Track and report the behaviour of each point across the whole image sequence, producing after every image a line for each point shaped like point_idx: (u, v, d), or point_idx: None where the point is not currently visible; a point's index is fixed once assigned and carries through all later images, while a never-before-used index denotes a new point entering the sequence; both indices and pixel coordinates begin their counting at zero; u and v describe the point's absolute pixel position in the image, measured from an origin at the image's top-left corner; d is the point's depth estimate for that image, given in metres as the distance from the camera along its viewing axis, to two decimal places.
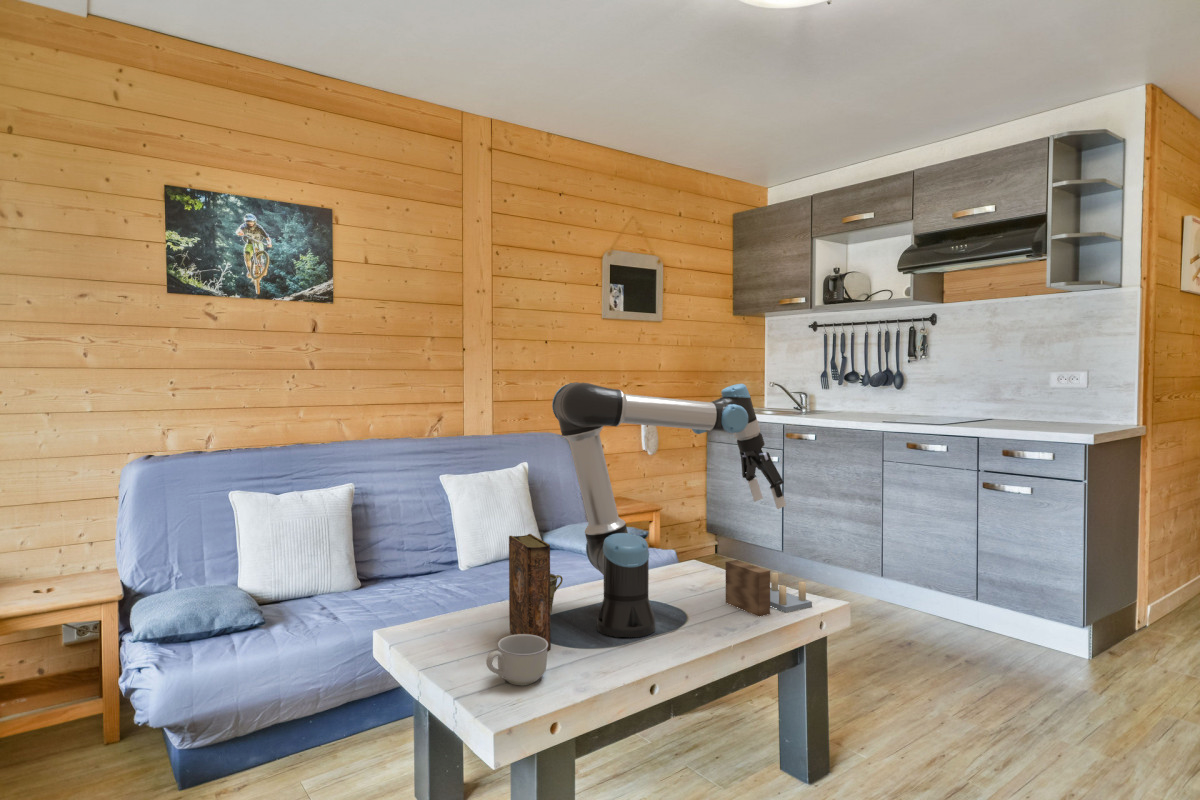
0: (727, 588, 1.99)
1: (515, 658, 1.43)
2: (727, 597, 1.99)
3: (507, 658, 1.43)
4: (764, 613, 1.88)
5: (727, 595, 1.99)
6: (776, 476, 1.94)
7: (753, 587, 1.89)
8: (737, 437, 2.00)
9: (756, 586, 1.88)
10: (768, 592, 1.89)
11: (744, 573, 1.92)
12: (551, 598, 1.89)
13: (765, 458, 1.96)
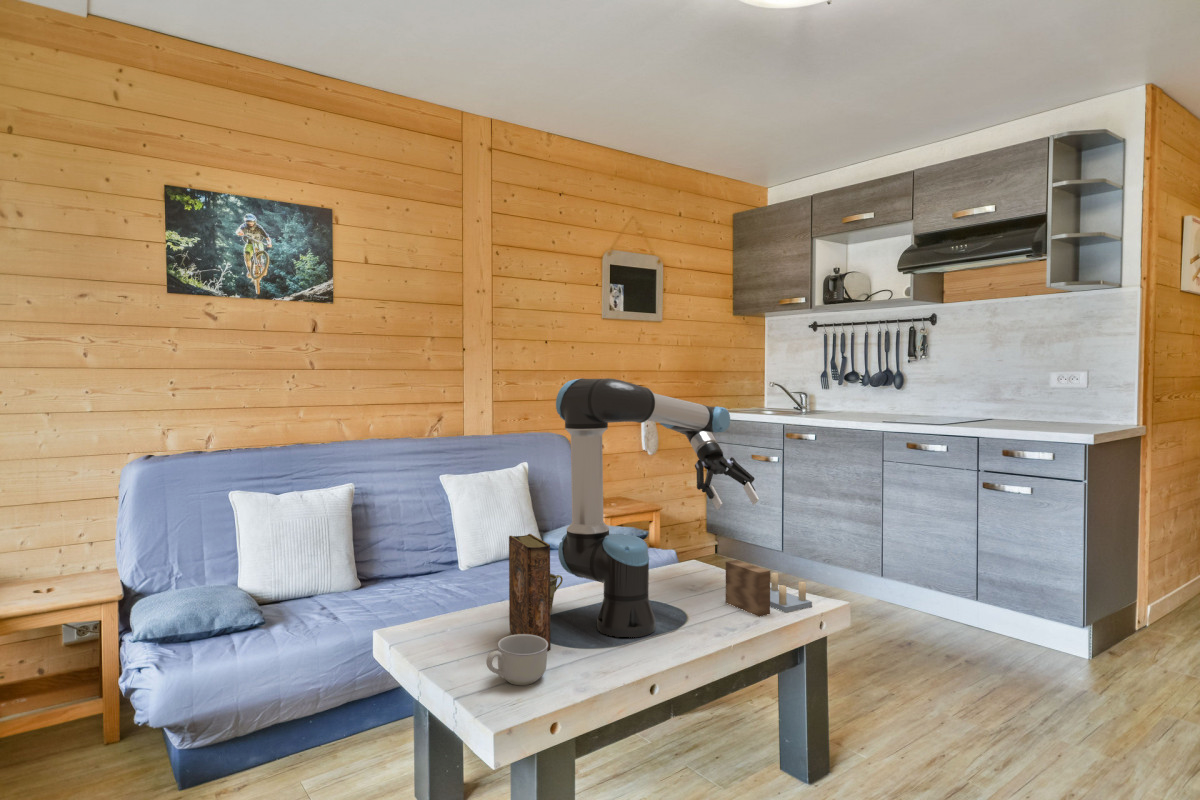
0: (727, 588, 1.99)
1: (515, 658, 1.43)
2: (727, 597, 1.99)
3: (507, 658, 1.43)
4: (764, 613, 1.88)
5: (727, 595, 1.99)
6: None
7: (753, 587, 1.89)
8: (712, 438, 2.14)
9: (756, 586, 1.88)
10: (768, 592, 1.89)
11: (744, 572, 1.92)
12: (551, 598, 1.89)
13: None
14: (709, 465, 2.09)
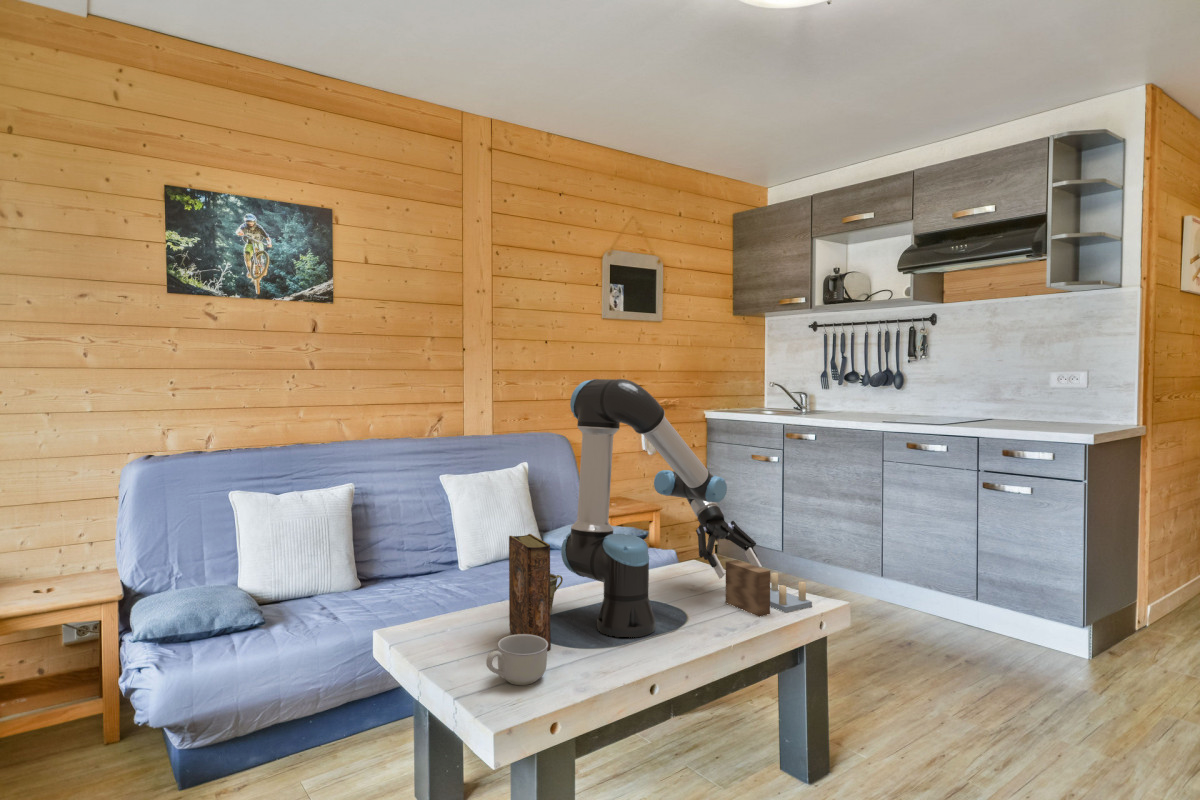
0: (727, 588, 1.99)
1: (515, 658, 1.43)
2: (727, 597, 1.99)
3: (507, 658, 1.43)
4: (764, 613, 1.88)
5: (727, 595, 1.99)
6: None
7: (753, 587, 1.89)
8: (713, 502, 2.10)
9: (756, 586, 1.88)
10: (768, 592, 1.89)
11: (744, 572, 1.92)
12: (551, 598, 1.89)
13: None
14: (711, 530, 2.05)
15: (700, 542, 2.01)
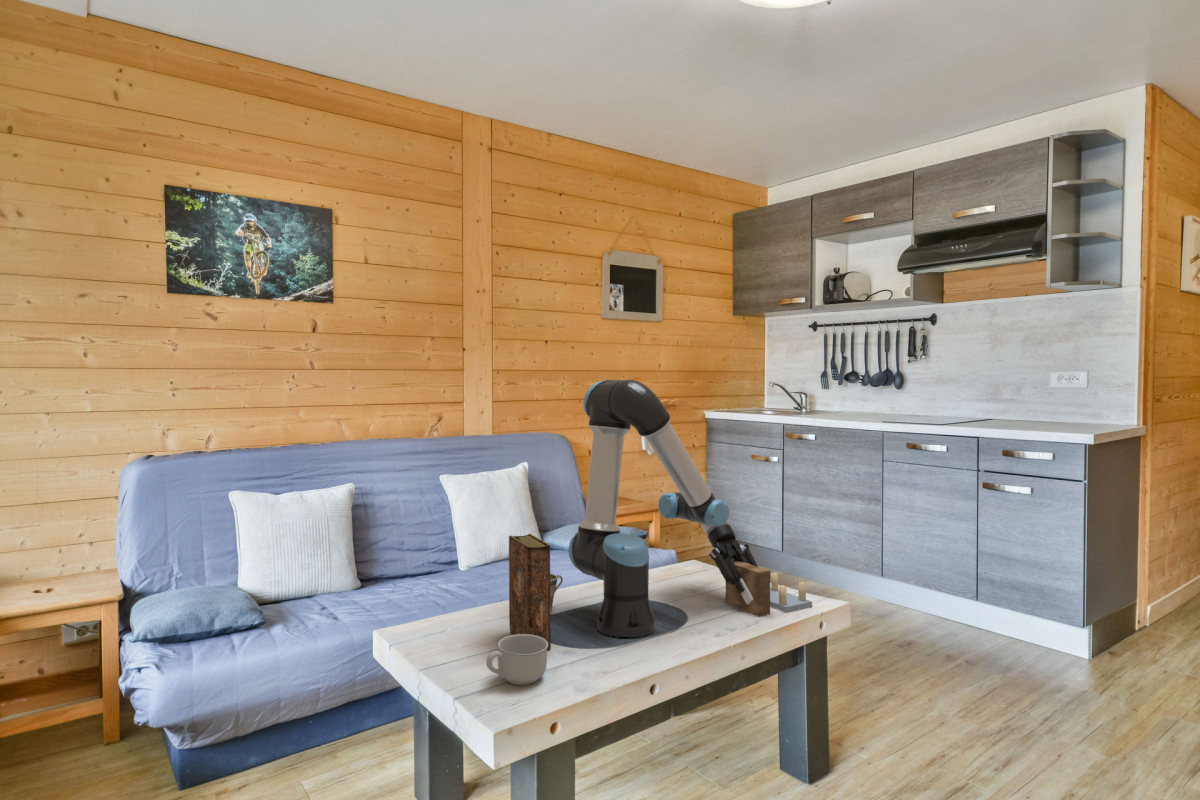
0: (727, 588, 1.99)
1: (515, 658, 1.43)
2: (727, 597, 1.99)
3: (507, 658, 1.43)
4: (764, 613, 1.88)
5: (727, 595, 1.99)
6: None
7: (753, 587, 1.89)
8: None
9: (756, 585, 1.88)
10: (768, 592, 1.89)
11: (744, 572, 1.92)
12: (551, 598, 1.89)
13: None
14: (721, 550, 1.99)
15: (721, 567, 1.95)
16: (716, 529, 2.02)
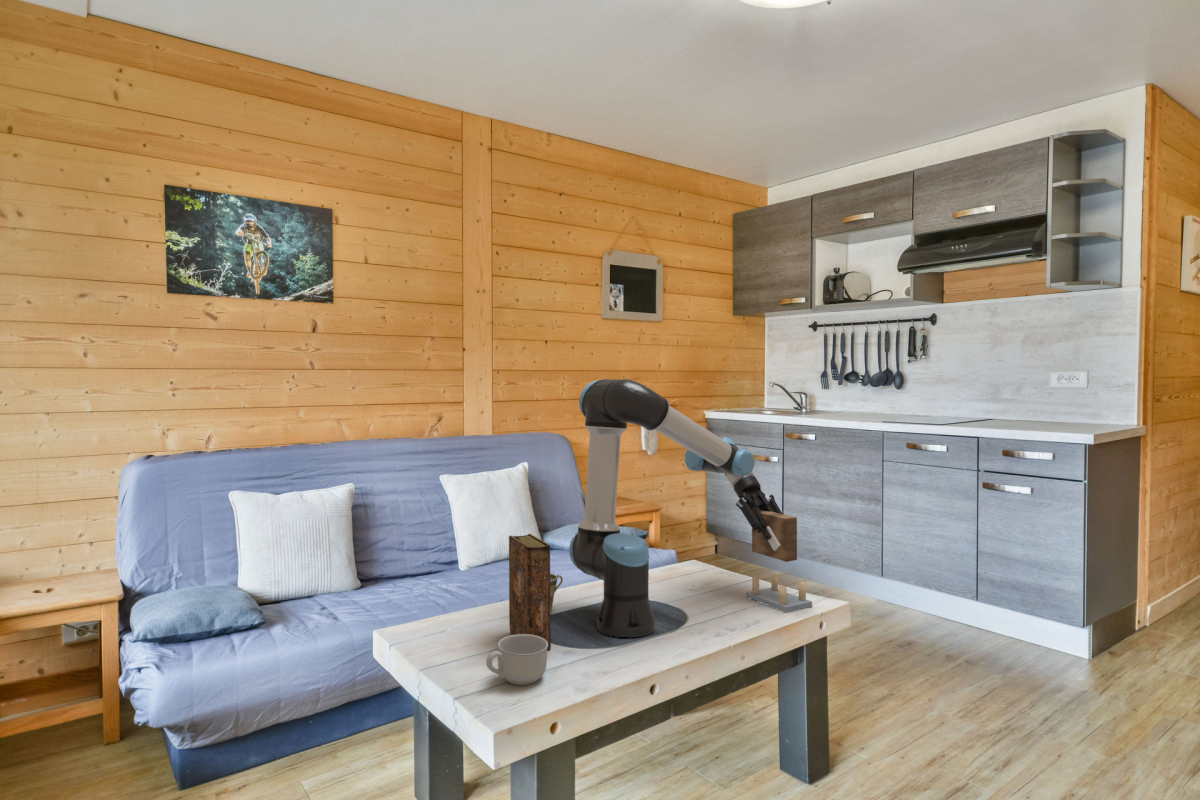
0: (753, 537, 2.03)
1: (515, 658, 1.43)
2: (753, 545, 2.03)
3: (507, 658, 1.43)
4: (791, 558, 1.93)
5: (753, 543, 2.03)
6: None
7: (780, 534, 1.94)
8: None
9: (783, 532, 1.93)
10: (795, 538, 1.94)
11: (771, 520, 1.97)
12: (551, 598, 1.89)
13: None
14: (748, 499, 2.03)
15: (748, 515, 2.00)
16: (742, 480, 2.06)
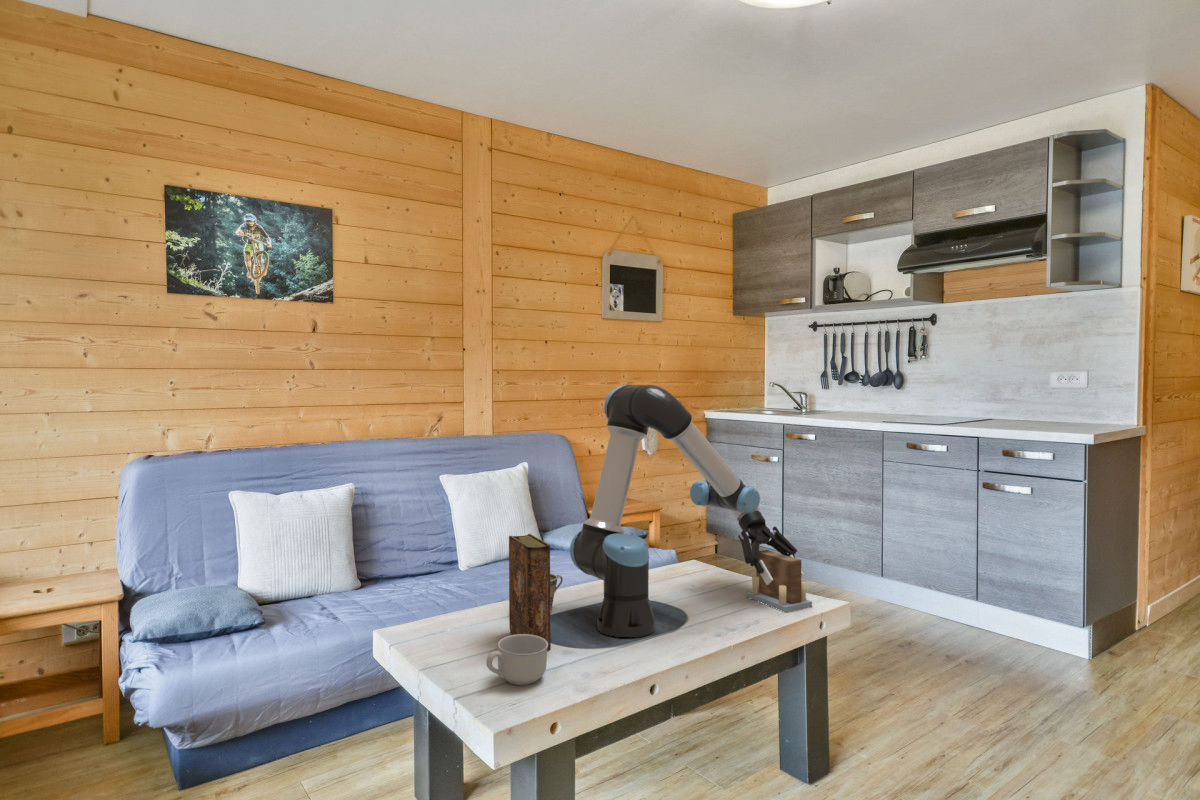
0: None
1: (515, 658, 1.43)
2: None
3: (507, 658, 1.43)
4: (796, 601, 1.94)
5: None
6: None
7: (785, 576, 1.95)
8: None
9: (788, 574, 1.94)
10: (799, 580, 1.94)
11: (775, 562, 1.98)
12: (551, 598, 1.89)
13: None
14: (753, 535, 2.04)
15: (745, 548, 2.00)
16: (747, 515, 2.07)
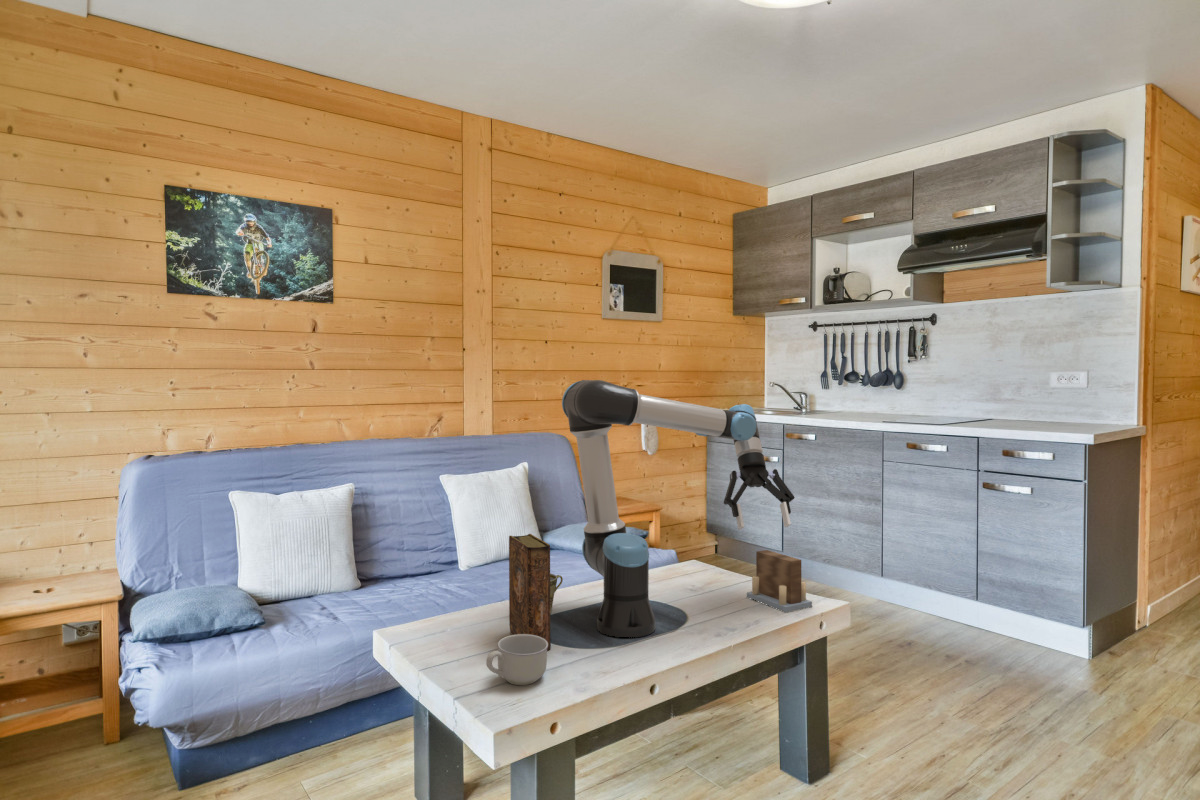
0: None
1: (515, 658, 1.43)
2: None
3: (507, 658, 1.43)
4: (796, 601, 1.94)
5: None
6: None
7: (785, 576, 1.95)
8: (755, 447, 1.97)
9: (788, 574, 1.94)
10: (799, 580, 1.94)
11: (775, 562, 1.98)
12: (551, 598, 1.89)
13: None
14: (744, 477, 1.96)
15: (728, 488, 1.94)
16: (744, 456, 1.97)
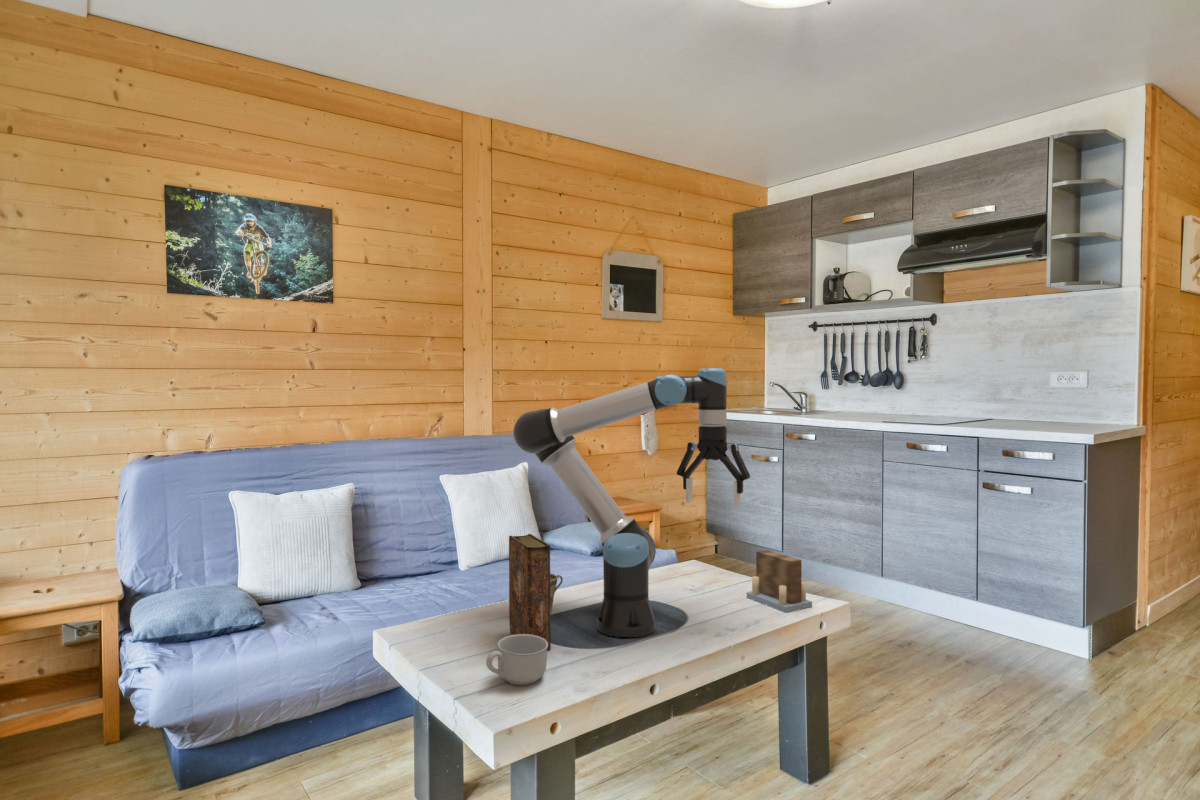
0: None
1: (515, 658, 1.43)
2: None
3: (507, 658, 1.43)
4: (796, 601, 1.94)
5: None
6: (745, 469, 1.83)
7: (785, 576, 1.95)
8: (709, 422, 1.84)
9: (788, 574, 1.94)
10: (799, 580, 1.94)
11: (775, 562, 1.98)
12: (551, 598, 1.89)
13: (736, 449, 1.83)
14: None
15: None
16: (699, 429, 1.86)
